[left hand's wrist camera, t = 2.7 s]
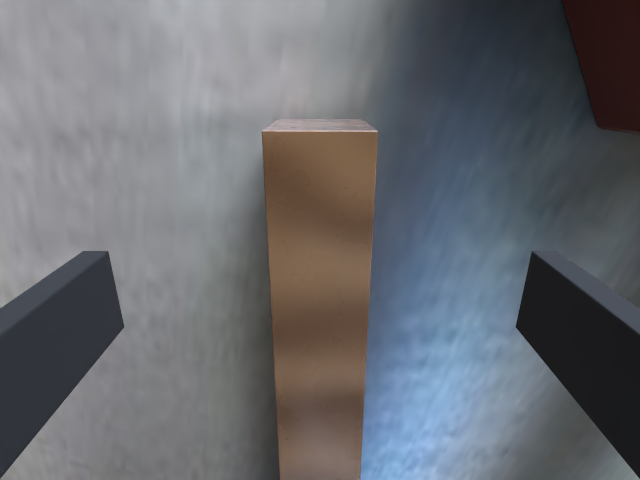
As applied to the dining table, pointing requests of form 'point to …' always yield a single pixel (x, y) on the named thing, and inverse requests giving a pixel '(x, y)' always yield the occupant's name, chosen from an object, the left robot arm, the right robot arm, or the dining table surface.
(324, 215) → the beam
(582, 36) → the box
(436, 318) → the dining table surface
